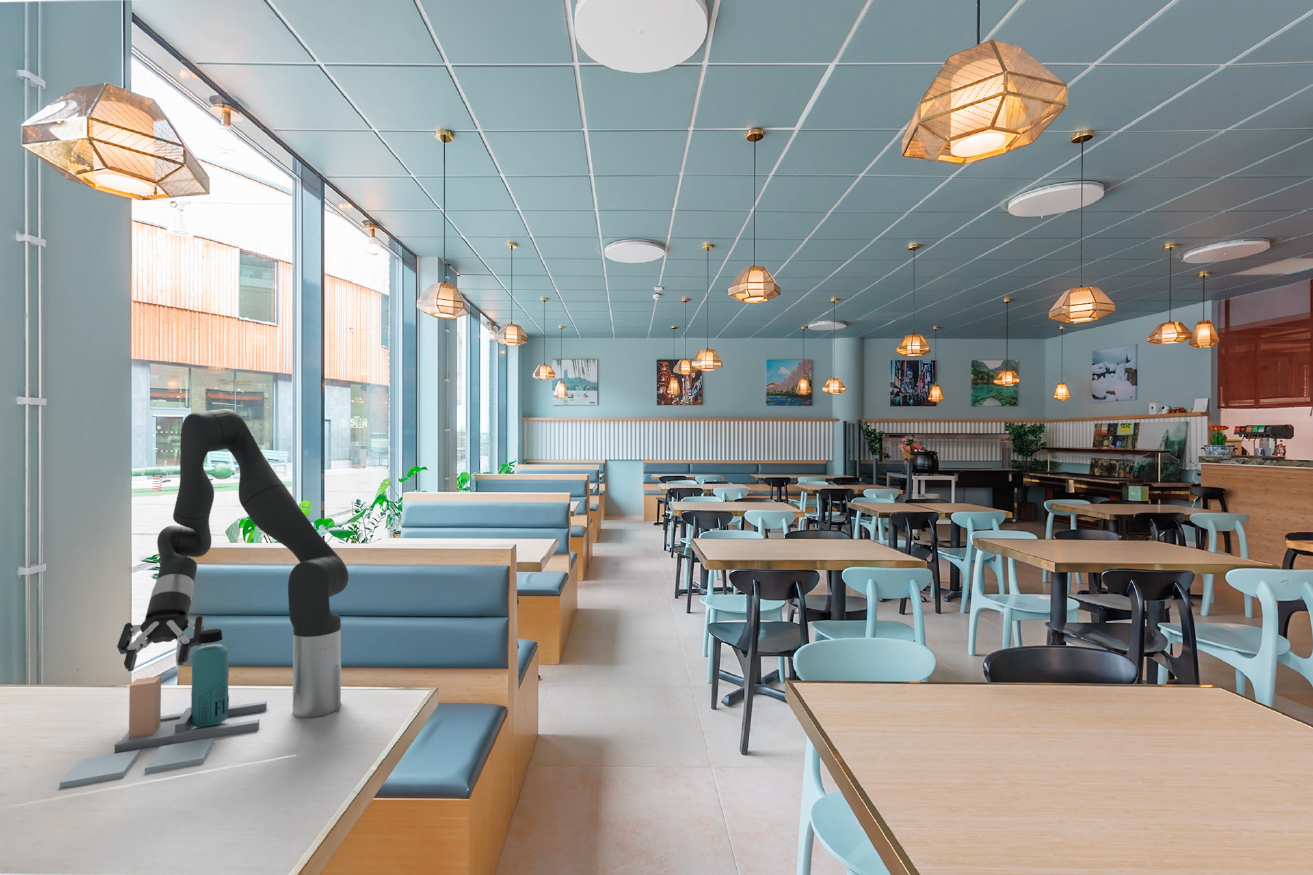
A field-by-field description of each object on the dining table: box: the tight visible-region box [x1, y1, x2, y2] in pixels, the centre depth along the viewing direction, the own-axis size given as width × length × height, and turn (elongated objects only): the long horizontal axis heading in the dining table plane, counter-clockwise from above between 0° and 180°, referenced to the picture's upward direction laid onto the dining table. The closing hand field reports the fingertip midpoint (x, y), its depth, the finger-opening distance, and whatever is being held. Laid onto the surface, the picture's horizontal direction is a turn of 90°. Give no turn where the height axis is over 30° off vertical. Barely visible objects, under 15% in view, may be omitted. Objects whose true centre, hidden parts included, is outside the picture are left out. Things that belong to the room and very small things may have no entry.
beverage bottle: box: [190, 628, 230, 728], centre depth 130 cm, size 6×7×20 cm
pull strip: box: [114, 675, 268, 754], centre depth 129 cm, size 23×12×11 cm, turn 115°
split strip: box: [59, 737, 215, 789], centre depth 114 cm, size 20×9×1 cm, turn 115°
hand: (155, 666), depth 131 cm, fingers open, 8 cm apart
